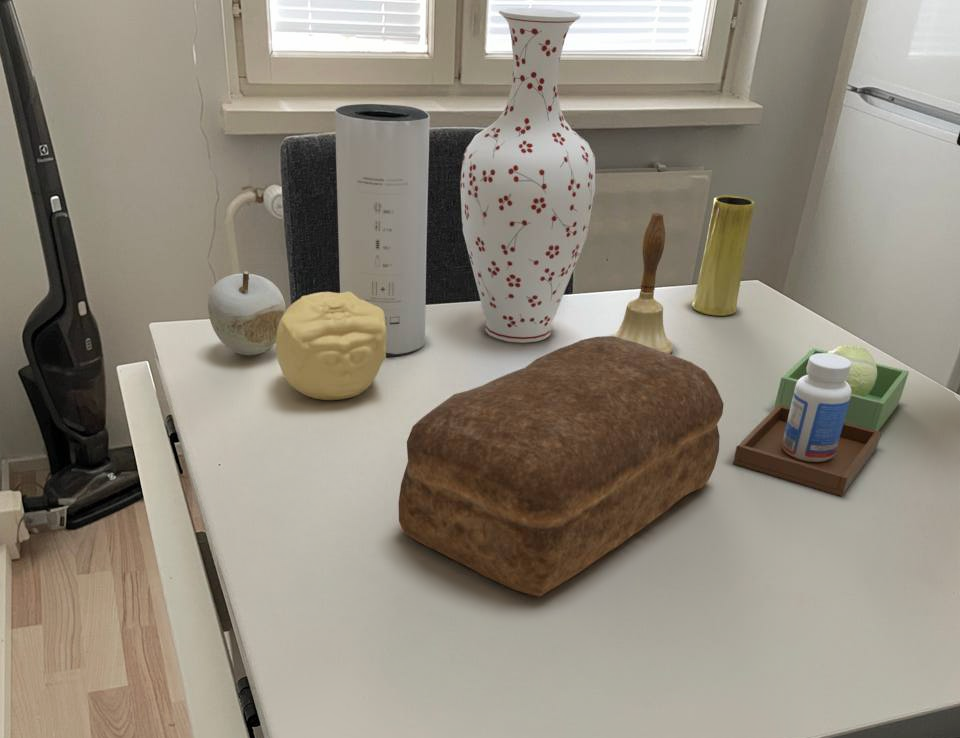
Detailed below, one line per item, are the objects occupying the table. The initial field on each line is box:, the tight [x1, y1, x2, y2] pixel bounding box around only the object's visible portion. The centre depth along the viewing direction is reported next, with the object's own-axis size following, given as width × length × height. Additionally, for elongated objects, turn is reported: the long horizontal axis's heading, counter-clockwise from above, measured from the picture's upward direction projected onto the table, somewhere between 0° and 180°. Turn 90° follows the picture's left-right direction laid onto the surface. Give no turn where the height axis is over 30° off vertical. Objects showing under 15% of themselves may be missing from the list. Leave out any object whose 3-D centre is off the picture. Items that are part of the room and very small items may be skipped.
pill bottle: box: [782, 353, 851, 462], centre depth 99 cm, size 6×5×10 cm
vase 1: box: [459, 7, 596, 344], centre depth 117 cm, size 16×16×35 cm
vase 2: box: [691, 195, 755, 317], centre depth 134 cm, size 6×6×14 cm
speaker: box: [334, 103, 431, 357], centre depth 115 cm, size 11×10×26 cm
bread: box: [397, 335, 725, 597], centre depth 88 cm, size 17×30×13 cm, turn 140°
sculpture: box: [275, 291, 387, 401], centre depth 107 cm, size 11×12×11 cm
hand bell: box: [611, 211, 674, 354], centre depth 120 cm, size 8×8×16 cm
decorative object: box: [207, 270, 286, 356], centre depth 115 cm, size 9×9×10 cm
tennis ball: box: [827, 344, 877, 397], centre depth 110 cm, size 6×7×7 cm
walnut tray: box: [732, 405, 882, 497], centre depth 102 cm, size 11×13×2 cm
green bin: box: [773, 347, 910, 432], centre depth 112 cm, size 11×11×4 cm
